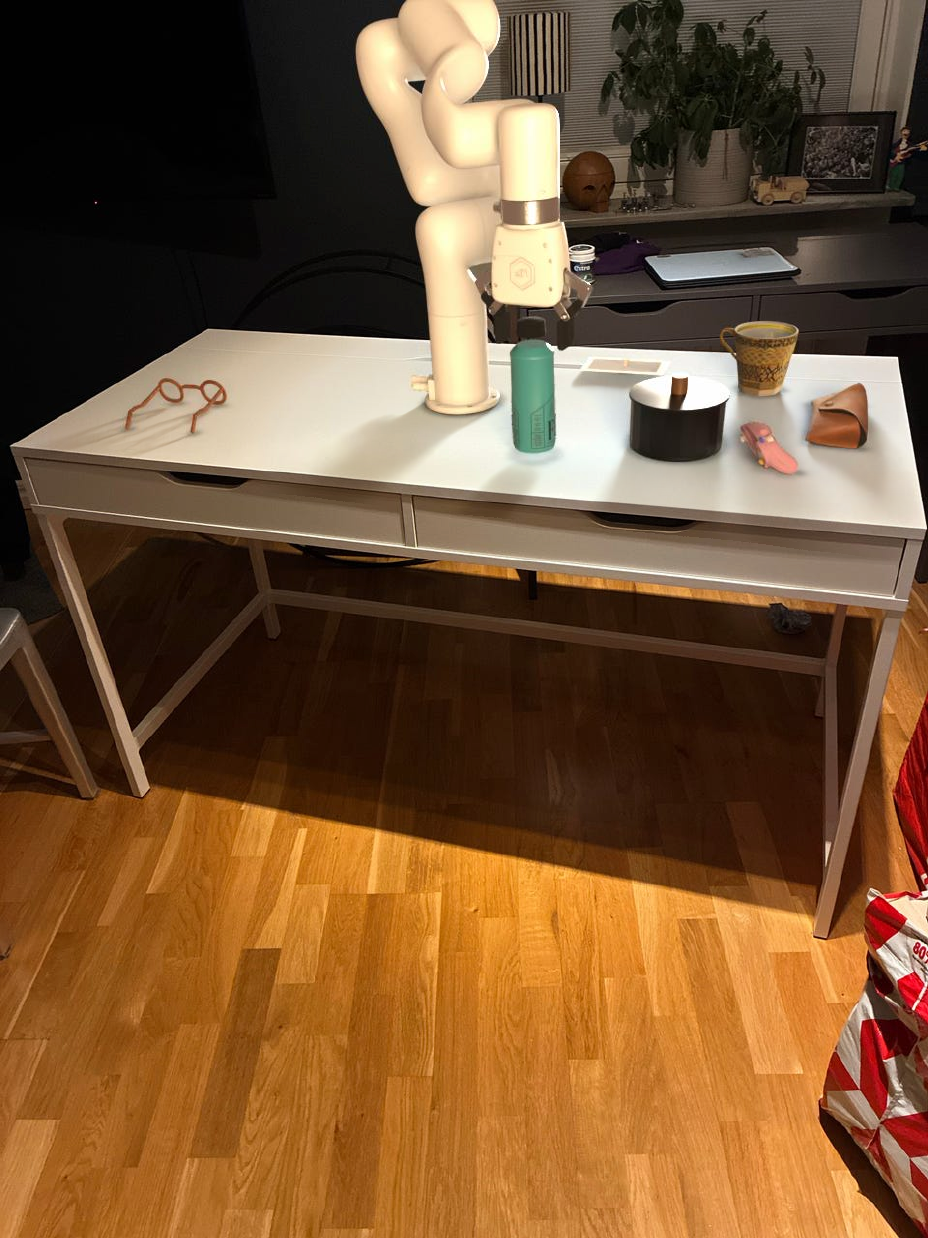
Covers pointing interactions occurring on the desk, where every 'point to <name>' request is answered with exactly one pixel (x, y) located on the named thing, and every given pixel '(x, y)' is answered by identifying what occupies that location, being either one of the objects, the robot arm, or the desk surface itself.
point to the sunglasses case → (840, 419)
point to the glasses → (201, 388)
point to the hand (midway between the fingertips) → (533, 344)
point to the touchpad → (625, 365)
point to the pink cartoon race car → (767, 447)
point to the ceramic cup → (762, 355)
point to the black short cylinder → (676, 434)
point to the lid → (679, 394)
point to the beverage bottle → (532, 389)
